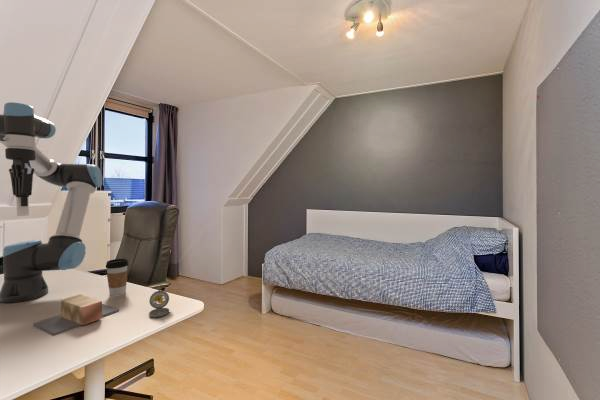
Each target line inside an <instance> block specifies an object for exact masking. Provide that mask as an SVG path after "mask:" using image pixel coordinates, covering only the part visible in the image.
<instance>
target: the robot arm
mask: <svg viewBox="0 0 600 400" xmlns="http://www.w3.org/2000/svg"><path fill="white" fill-rule="evenodd" d="M56 132H57V129H56V126H55V124H54V123H53V122H51V121H49V120H48V119H47V118H44V117H40V116H37V115H36V114H35V109H34V107H33V106H31V105H29V104H27V103H21V102H6V103H4V106H3V113H2V114H0V143H1V144H2V145H3V146H4V147H5V152H4V153H5V159H6V160H12V164H11V168H9V169H8V172H9V175H10V183H11V190H12V194H13V196H15V197H16V198H15V199H16V200H15V201H16V216H18V217H21V216H22V217H24V216H30V209H29V208H30V207H29V197H30V196H32V191H33V181H34V180H33V179H34V175H35V176H36V177H38V178H40V179H41V180H43V181H45V182H47V183H49V184H51V185H54V186H57V187H62V188H66V189H67V190H68V192H67V194H66V198H65V201H64V205H63V208H62V211H61V215H60V217H59V221H58V224H57V227H56V231H55V234H54V235H53V234H52V235H51V236H49V237H48V238H49V239H48V242H46V243H43V242H42V240H41V239H32V240H27V241H22V242H21V241H19V242H17V243H11V244H8V245H6V246H4V248H3V249H2V251H3V252H2V263H3V265H2V266H3V283H2V286H1V288H0V303H2V304H10V303H11V304H13V303H20V302H25V301H29V300H33V299H37V298H40V297H43V296H45V295H47V294H48V293H49V285H48V284H47V281H46V280H45V278H44V276H43V272H46V271H67V270H74V269H77V267H80V265H81V264H82V262H84V258H85V256H86V253H87V252H86V250H87V249H86V244H85V243H84V242H83V240H82V239H81V237H80V235H81V232H82V228H83V224H84V219H85V216H86V213H87V208H88V205H89V200H90V196H91V195H92V194H94V193H95V192H96V189H97V188H101V187H102V186H103V174H102V171H101V169H100V167H99V165H96V164H89V163H86V164H82V163H59V162H56V160H54V159H52V158H48V156H46V155H45V153H43V152H42V151H41V150H40V149H39V148H38V147H37V146H36V138H39V139H50V138H52V137H54V136H55V134H56Z"/></svg>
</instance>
